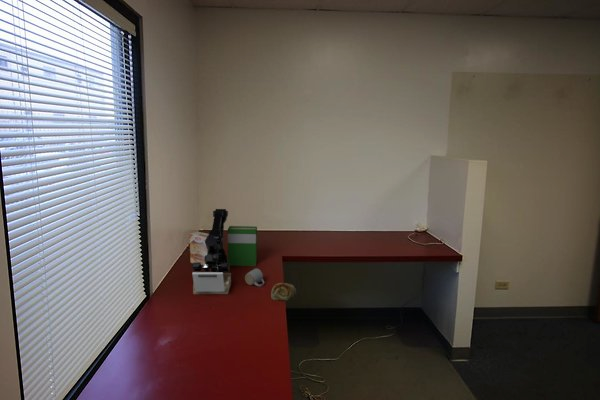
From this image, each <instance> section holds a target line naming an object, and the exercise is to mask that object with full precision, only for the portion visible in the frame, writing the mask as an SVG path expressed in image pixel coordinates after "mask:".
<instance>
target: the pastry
mask: <svg viewBox="0 0 600 400" xmlns="http://www.w3.org/2000/svg"><path fill="white" fill-rule="evenodd" d="M296 295H297V289H296V288H295V286H294V285H293V284H292V283H287V282H278V283H276V284H274V285H273V287H272V289H271V293H270V296H271V299H272V300H274V301H280V302H282V301H284V302H286V301H287V302H288V301H289V300H291V299H293V298H294V296H296Z"/></svg>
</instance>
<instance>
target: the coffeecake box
mask: <svg viewBox="0 0 600 400" xmlns="http://www.w3.org/2000/svg"><path fill="white" fill-rule="evenodd" d="M208 235H209V233H206V232H201V231H194V232H191V233H189V254H190V256H189V257H190V259H189V260H190V263H191V264H193V263H201V265H206V264H205V255H207V252H208V249H207V247H206V244H205V240H206V238H207V236H208Z"/></svg>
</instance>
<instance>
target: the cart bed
mask: <svg viewBox="0 0 600 400" xmlns="http://www.w3.org/2000/svg"><path fill="white" fill-rule="evenodd" d="M223 278H224V287H225V291H204V292H195V287H194V283H193V284H192V294H193V295H229V293H230V289H231V286H232V273H231V272H227V273H223Z"/></svg>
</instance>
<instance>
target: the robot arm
mask: <svg viewBox="0 0 600 400" xmlns="http://www.w3.org/2000/svg"><path fill="white" fill-rule="evenodd" d="M212 217H213V222H212V227H211V228H212V229H210V231H209V232H208V234H209V235H208V236H207V238H206V240H205V244H206V247H207V249H208V252H207V255H205V264H206V265H201V263H191V264H192V266H191V268H192V271H193V272H201V271H202V270H203V272H223V273H228V272H230V266H229V264H228V255H227V254H226V251H225V249H224V232H225V231H224V230H225V228H224V227H225V223H226V221H227V220H228V217H229V210H227V209H226V208H215V210H213V211H212Z"/></svg>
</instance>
